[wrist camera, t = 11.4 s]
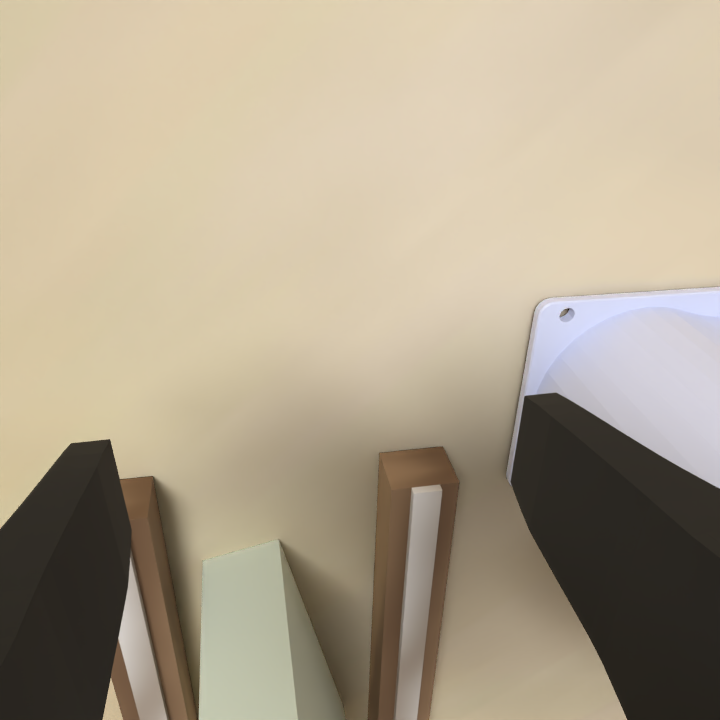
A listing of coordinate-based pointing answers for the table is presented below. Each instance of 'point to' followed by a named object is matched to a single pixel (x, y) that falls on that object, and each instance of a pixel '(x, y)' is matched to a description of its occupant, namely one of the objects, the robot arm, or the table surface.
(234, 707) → the door panel
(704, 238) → the table surface
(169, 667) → the sliding track
